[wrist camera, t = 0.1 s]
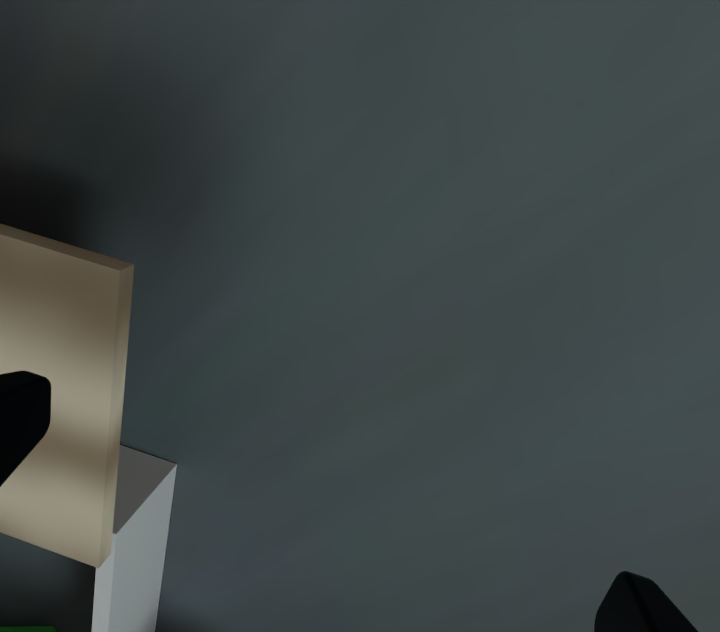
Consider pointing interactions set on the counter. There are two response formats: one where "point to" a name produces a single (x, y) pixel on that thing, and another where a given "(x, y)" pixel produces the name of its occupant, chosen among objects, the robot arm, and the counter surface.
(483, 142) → the counter surface
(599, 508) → the counter surface
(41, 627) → the pipe clamp
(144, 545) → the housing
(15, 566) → the counter surface
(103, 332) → the lid
